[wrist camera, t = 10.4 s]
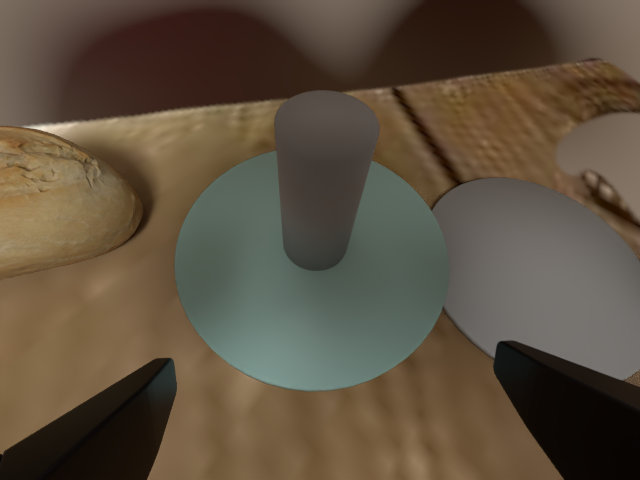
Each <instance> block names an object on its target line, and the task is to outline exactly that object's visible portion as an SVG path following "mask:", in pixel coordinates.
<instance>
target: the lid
mask: <svg viewBox="0 0 640 480" xmlns="http://www.w3.org/2000/svg"><path fill="white" fill-rule="evenodd" d="M274 125H275V139H276V151H272V152H268V153H264V154H261V155H258V156H256V157H253V158H250V159H248V160H246V161H244V162H242V163H240V164H238V165H236V166H234V167H233V168H231V169H230V170H228V171H227V172H225V173H223V174H222V175H221V176H220V177H218V178H217V179H216V180H215V181H214V182H212V183H211V184H210V185H209V186H208V187H207V188H206V189H205V191H204V192H203V193H202V194H201V195H200V196H199V198H198V199H197V200H196V202H195V203H194V204H193V206H192V207H191V209H190V211H189V213H188V214H187V216H186V218H185V220H184V223H183V225H182V228H181V230H180V233H179V237H178V241H177V246H176V252H175V265H174V266H175V278H176V285H177V289H178V293H179V297H180V301H181V303H182V305H183V308H184V310H185V312H186V315H187V317H188V319H189V320H190V322H191V323H192V325H193V327H194V328H195V330H196V331H197V333H198V334H199V335H200V336H201V337H202V339H203V340H204V341H205V342H206V343H207V344H208V346H209V347H210V348H211V349H212V350H213V351H214V352H215V353H217V354H218V355H219V356H220V357H221V358H222V359H224V360H225V361H226V362H227V363H228V364H230V365H231V366H233V367H234V368H236V369H237V370H239V371H241V372H242V373H244V374H246V375H247V376H249V377H252V378H254V379H256V380H259V381H261V382H263V383H266V384H269V385H273V386H276V387H280V388H284V389H289V390H298V391H307V392H314V391H332V390H338V389H343V388H349V387H352V386H355V385H358V384H361V383H364V382H367V381H370V380H372V379H374V378H376V377H378V376H379V375H381V374H383V373H385V372H387V371H389V370H390V369H392V368H393V367H395V366H396V365H397V364H399V363H400V362H402V361H403V360H404V359H406V358H407V357H408V356H409V355H410V354H411V353H412V352H413V351H414V350H416V349H417V348H418V347H419V346H420V345H421V344H422V342H423V341H424V340H425V338H426V337H427V336H428V334H429V333H430V332H431V330H432V329H433V327H434V325H435V323H436V321H437V319H438V317H439V315H440V314H441V311H442V308H443V305H444V302H445V299H446V295H447V289H448V283H449V260H448V252H447V247H446V243H445V240H444V236H443V233H442V231H441V229H440V226H439V224H438V222H437V220H436V218H435V216H434V215H433V213H432V211H431V210H430V208H429V207H428V205H427V204H426V203H425V201H424V200H423V199H422V197H421V196H420V195H419V194H418V193H417V192H416V191H415V190H414V189H413V188H412V187H411V186H410V185H409V184H408V183H407V182H405V181H404V180H403V179H402V178H401V177H399V176H398V175H396V174H395V173H393V172H392V171H390V170H389V169H387V168H386V167H384V166H382V165H380V164H378V163H376V162H374V161H372V157H373V154H374V150H375V147H376V143H377V139H378V136H379V122H378V119H377V117H376V115H375V114H374V112H373V111H372V110H371V109H370V108H369V107H368V106H367V105H366V104H365V103H363V102H362V101H360V100H358V99H357V98H354V97H352V96H350V95H347V94H344V93H340V92H335V91H323V90H322V91H321V90H320V91H309V92H305V93H302V94H298V95H296V96H294V97H292V98H290V99H288V100H287V101H286V102H284V103H283V104H282V105H281V106H280V108H279V109H278V111H277V113H276V116H275V122H274Z"/></svg>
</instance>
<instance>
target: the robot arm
mask: <svg viewBox="0 0 640 480" xmlns="http://www.w3.org/2000/svg"><path fill="white" fill-rule="evenodd" d="M493 368H494V373H495V375H496V377H497V379H498V380H499V382H500V384H501V385H502V387H503V389H504V390H505V392H506V394H507V395H508V397H509V399H510V400H511V402H512V404H513V406H514V407H515V409H516V411H517V412H518V414H519V416H520V417H521V419H522V420H523V422H524V424H525V425H526V427H527V428H528V430H529V431H530V433H531V434H532V436H533V437H534V438H535V440H536V441H537V442H538V444H539V445H540V447H541V448H542V449H543V451H544V452H545V454H546V455H547V456H548V458H549V459H550V461H551V462H552V463H553V465H554V466H555V468H556V469H557V470H558V472H559V473H560V475H561V476H562V477H563V479H564V480H640V387H638V386H635V385H633V384H630V383H627V382H625V381H622V380H619V379H617V378H614V377H611V376H609V375H606V374H603V373H601V372H598V371H595V370H592V369H590V368H587V367H584V366H582V365H579V364H576V363H574V362H571V361H568V360H566V359H563V358H560V357H558V356H555V355H552V354H549V353H547V352H544V351H541V350H539V349H536V348H533V347H531V346H528V345H525V344H523V343H520V342H517V341H514V340H505V341H499V342H498V343H497V346H496V352H495V358H494V365H493ZM176 391H177V382H176V374H175V366H174V361H173V359H171V358H157V359H154V360H152V361H151V362H149V363H148V364H146V365H144V366H143V367H141V368H139V369H138V370H136V371H134V372H133V373H131V374H130V375H128V376H126V377H125V378H123V379H121V380H120V381H118V382H116V383H115V384H113V385H112V386H110V387H108V388H107V389H105V390H103V391H102V392H100V393H98V394H97V395H95V396H94V397H92V398H90V399H89V400H87V401H85V402H84V403H82V404H80V405H79V406H77V407H76V408H74V409H72V410H71V411H69V412H67V413H66V414H64V415H63V416H61V417H59V418H58V419H56V420H54V421H53V422H51V423H49V424H48V425H46V426H45V427H43V428H41V429H40V430H38V431H36V432H35V433H33V434H31V435H30V436H28V437H27V438H25V439H23V440H22V441H20V442H18V443H17V444H15V445H13V446H12V447H10V448H9V449H7V450H5V451H4V453H3V455H2V454H0V480H147V478H148V476H149V473H150V471H151V469H152V466H153V464H154V461H155V459H156V456H157V454H158V451H159V448H160V445H161V441H162V438H163V435H164V432H165V428H166V425H167V422H168V419H169V415H170V412H171V409H172V405H173V402H174V399H175V396H176Z"/></svg>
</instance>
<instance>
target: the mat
mask: <svg viewBox="0 0 640 480" xmlns="http://www.w3.org/2000/svg"><path fill="white" fill-rule="evenodd" d="M432 213H433V215H434V216H435V218H436V220H437V222H438V224H439V226H440V229H441V231H442V233H443V236H444V240H445V243H446V247H447V252H448V260H449V283H448V289H447V295H446V299H445V302H444V305H443V310H444V311H445V313H446V314H447V316H448V317H449V318H450V320H451V321H452V322H453V323H454V324H455V326H456V327H457V328H458V329H459V330H460V331H461V332H462V333H463V334H464V335H465V336H466V337H467V338H468V339H469V340H470V341H471V342H472V343H473V344H474V345H475V346H477V347H478V348H479V349H480V350H482V351H483V352H484V353H485V354H487V355H488V356H489V357H491V358H492V359H494V358H495V352H496V346H497V343H498V342H499V341H505V340H514V341H517V342H520V343H523V344H525V345H528V346H531V347H533V348H536V349H539V350H541V351H544V352H547V353H549V354H552V355H555V356H558V357H560V358H563V359H566V360H568V361H571V362H574V363H576V364H579V365H582V366H584V367H587V368H590V369H592V370H595V371H598V372H601V373H603V374H606V375H609V376H611V377H614V378H617V379H619V380H624V379H626V378H628V377H630V376H631V375H633V374H634V373H636V372H637V371H639V369H640V261H639V260H638V258H637V256H636V255H635V254H634V252H633V251H632V250H631V248H630V247H629V246H628V245H627V243H626V242H625V241H624V240H623V239H622V238H621V237H620V236H619V235H618V233H617V232H616V231H614V230H613V229H612V228H611V227H610V226H609V225H608V224H607V223H606V222H605V221H603V220H602V219H601V218H600V217H598V216H597V215H596V214H595V213H593V212H592V211H590V210H589V209H588V208H586V207H585V206H583V205H582V204H580V203H578V202H577V201H575V200H573V199H571V198H570V197H568V196H566V195H564V194H562V193H559V192H557V191H555V190H553V189H550V188H547V187H545V186H542V185H539V184H535V183H532V182H528V181H523V180H518V179H510V178H485V179H479V180H474V181H470V182H467V183H464V184H462V185H460V186H458V187H456V188H454V189H452V190H451V191H449V192H448V193H447V194H445V195H444V196H443V197H442V198H441V199H440V200H439V201H438V202H437V204H436V205H435V207H434V208H433V210H432Z"/></svg>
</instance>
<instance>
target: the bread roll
mask: <svg viewBox="0 0 640 480" xmlns="http://www.w3.org/2000/svg"><path fill="white" fill-rule="evenodd" d="M143 212H144V210H143V205H142V203H141V200H140V198H139V196H138V194H137V193H136V191H135V190H134V188H133V187H132V186H131V185H130V184H129V182H128V181H127V180H126V179H125V178H124V177H123V176H122V175H121V174H120V173H119V172H118V171H117V170H116V169H114V168H113V167H111V166H110V165H108V164H107V163H105V162H104V161H102V160H101V159H99V158H98V157H96V156H94V155H93V154H91V153H90V152H89V151H87V150H85V149H83V148H81V147H79V146H78V145H76V144H74V143H72V142H70V141H68V140H66V139H63V138H61V137H59V136H57V135H54V134H51V133H48V132H44V131H41V130H37V129H30V128H23V127H13V126H0V280H2V279H4V278H11V277H15V276H19V275H24V274H28V273H33V272H37V271H41V270H46V269H50V268H54V267H59V266H64V265H69V264H73V263H77V262H81V261H84V260H87V259H91V258H94V257H96V256H99V255H102V254H104V253H107V252H109V251H112V250H114V249H116V248H117V247H119V246H121V245H122V244H124V243H125V242H126V241H127V240H128V239H129V238H130V237H131V236H132V235H133V233H134V232H135V231H136V229H137V227H138V225H139V223H140V221H141V218H142V213H143Z"/></svg>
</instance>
